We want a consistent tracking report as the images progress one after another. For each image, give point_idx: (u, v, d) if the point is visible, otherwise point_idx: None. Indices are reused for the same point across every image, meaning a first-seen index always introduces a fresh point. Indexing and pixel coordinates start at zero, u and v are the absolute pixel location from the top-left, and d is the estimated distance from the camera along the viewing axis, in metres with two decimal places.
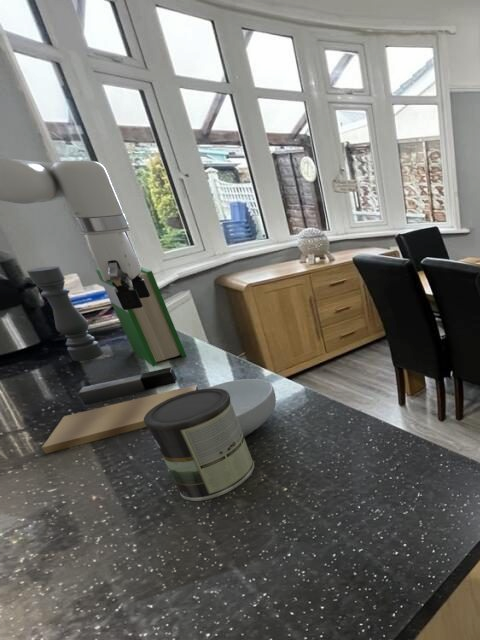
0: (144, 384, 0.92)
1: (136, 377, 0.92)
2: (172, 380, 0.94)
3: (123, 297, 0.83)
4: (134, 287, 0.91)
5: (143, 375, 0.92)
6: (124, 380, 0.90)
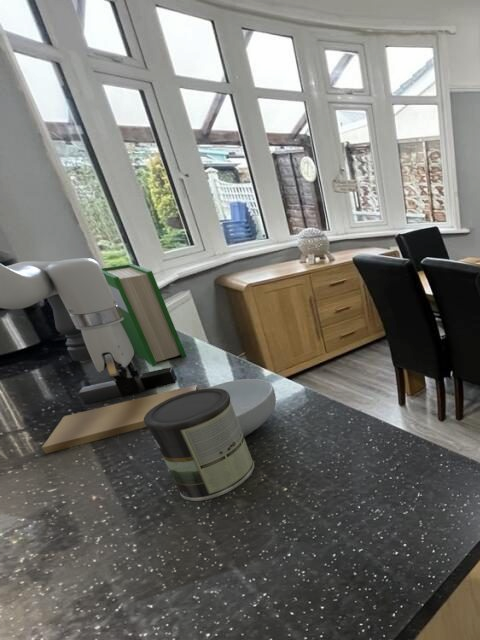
0: (144, 384, 0.92)
1: (136, 377, 0.92)
2: (172, 380, 0.94)
3: (122, 385, 0.88)
4: None
5: (143, 375, 0.92)
6: None
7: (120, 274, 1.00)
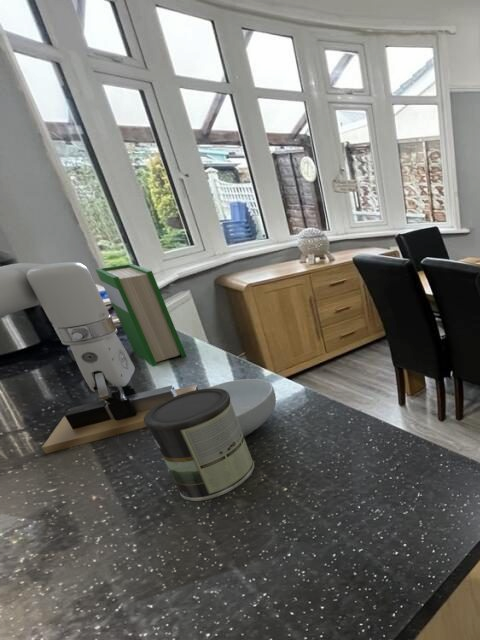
0: None
1: None
2: None
3: None
4: None
5: (103, 403, 0.78)
6: None
7: (120, 274, 1.00)
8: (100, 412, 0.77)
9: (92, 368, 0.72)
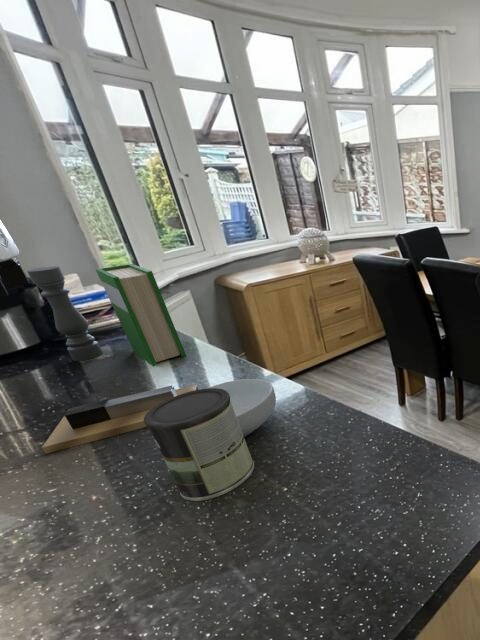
0: None
1: (112, 402, 0.79)
2: None
3: None
4: None
5: (103, 403, 0.78)
6: (126, 398, 0.80)
7: (120, 274, 1.00)
8: (100, 412, 0.77)
9: None
